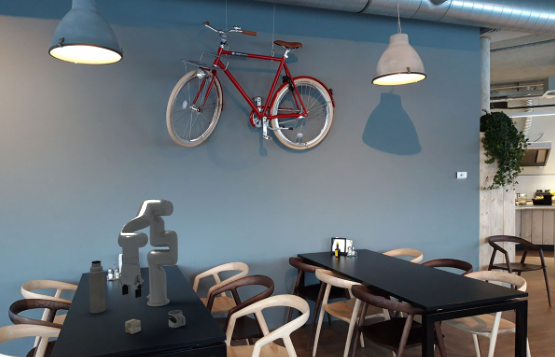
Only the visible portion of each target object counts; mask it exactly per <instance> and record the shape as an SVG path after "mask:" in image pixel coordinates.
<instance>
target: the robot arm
mask: <svg viewBox="0 0 555 357" xmlns="http://www.w3.org/2000/svg"><path fill="white" fill-rule="evenodd" d="M173 212H174V205H173V202H172V201H171V200H167V199H163V198H161V199H160V198H159V199H145V200H143V201H142V202H141V204H140V206H139V208H138V211H137V213H136V216H135V217H134V218H132V219H131V220H129V221H128V222H126V223H125V224H124V225H123V226H122V227H121V230H120V231H119V233H118V236H117V237H118V238H117V244H118V247H120V248H121V249H122V251H121V253H122V254H121V255H122V263H121V267H120V276H118V279H119V283H120V286H121V295H122V296H126V295H129V286H134V288H135V289H134V293H135V294H134V297H135V299H138V298H141V297H142V289H143V287H144V284H145V280H144V279H143V277H142V272H141V265H140V254H139V253H140V250H139V249H140V248H144V247H146V246H147V245H148V243H149V244H150V246H151V247H153V248H157V249H152V250H149V251H148V252H147V253H146V261H147V266H148V278H149V280H148V281H149V282H148V283H149V293H148V295H147V296H146V298H147V299H148V301H147V302H146V303H147V306H149V307H163V306H166V305H168V304H170V299H169V298H168V297H167V273H166V270H165V268H164V267H165V266H167V267H168V266H169V267H171V266H175V265H177V263H178V261H179V248H178V247H179V246H178V244H179V242H178V241H179V239H178V233H177V232H176V231H175V230H166V226H165V220H164V218H162V217H168V216H171V215H172V214H173ZM148 227H149V237H148V234H147V233H146V232H140V231H141V230H144V229H147V228H148ZM138 231H139V232H138ZM158 248H159V249H158ZM160 248H161V249H160ZM163 266H164V267H163Z"/></svg>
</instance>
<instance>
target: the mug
mask: <svg viewBox="0 0 555 357" xmlns="http://www.w3.org/2000/svg"><path fill="white" fill-rule="evenodd" d="M183 326H186V316H184V315H183V311H182V310H180V309H176V310H175V309H174V310H170V311H169V312H168V327H169V328H171V329H176V328H181V327H183Z"/></svg>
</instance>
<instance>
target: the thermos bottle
mask: <svg viewBox="0 0 555 357" xmlns="http://www.w3.org/2000/svg"><path fill="white" fill-rule="evenodd" d="M105 279H106V278H105V270H104V267H103V265H102V260H92V261H91V266H90V267H89V271H88V285H89V286H88V287H89V288H88V289H89V291H88V293H89V313H91V314H100V313H103V312H105V311H106V310H107V309H106V287H105V285H106V283H105V281H106V280H105Z"/></svg>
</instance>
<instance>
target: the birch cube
mask: <svg viewBox="0 0 555 357" xmlns="http://www.w3.org/2000/svg"><path fill="white" fill-rule="evenodd" d="M124 325H125V333H128V334H131V335H133V334H134V335H135V334H136V333H138V332H141V331H142V328H141V327H142V326H141V320H140V319H136V318H131V319H129V320H127V321H125V324H124Z"/></svg>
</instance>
